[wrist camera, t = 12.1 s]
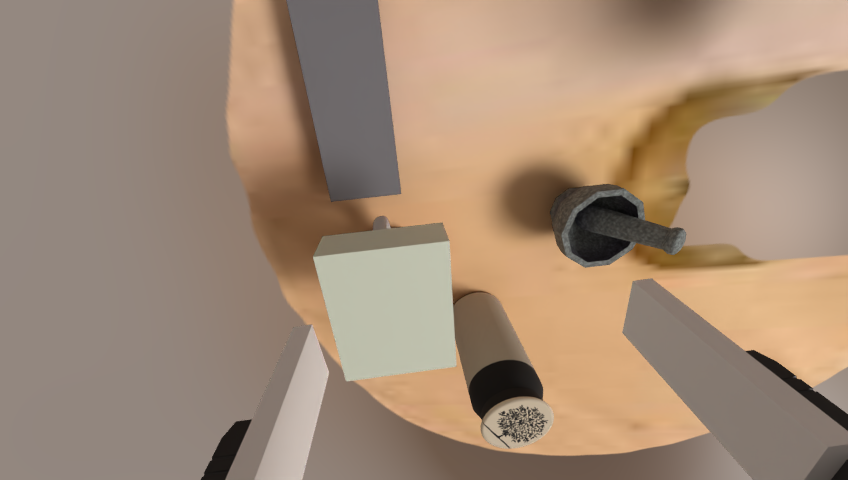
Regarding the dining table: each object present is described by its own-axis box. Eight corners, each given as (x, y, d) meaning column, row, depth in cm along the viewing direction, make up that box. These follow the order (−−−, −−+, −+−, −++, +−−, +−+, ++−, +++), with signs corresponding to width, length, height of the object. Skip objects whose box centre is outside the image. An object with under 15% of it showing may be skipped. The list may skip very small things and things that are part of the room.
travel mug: (489, 282, 46) (542, 386, 30) (509, 319, 50) (566, 431, 33) (440, 306, 47) (466, 419, 31) (463, 341, 51) (497, 460, 34)
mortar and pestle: (534, 245, 44) (579, 295, 33) (539, 178, 40) (593, 211, 29) (612, 236, 45) (682, 283, 34) (625, 169, 41) (710, 199, 30)
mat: (377, -3, 31) (376, -11, 29) (400, 187, 39) (401, 193, 37) (293, 3, 31) (285, -3, 28) (334, 195, 39) (331, 201, 37)
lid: (442, 222, 30) (449, 240, 26) (449, 338, 36) (456, 366, 32) (322, 236, 29) (312, 256, 26) (350, 351, 35) (346, 381, 32)
